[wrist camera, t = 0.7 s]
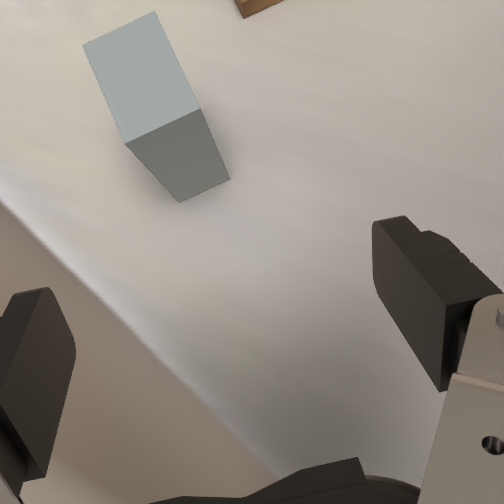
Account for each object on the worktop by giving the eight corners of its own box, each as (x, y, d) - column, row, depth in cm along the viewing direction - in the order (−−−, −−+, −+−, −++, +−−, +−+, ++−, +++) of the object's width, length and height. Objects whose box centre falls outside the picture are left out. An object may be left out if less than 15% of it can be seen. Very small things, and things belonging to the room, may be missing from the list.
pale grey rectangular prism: (198, 111, 31) (154, 10, 21) (230, 179, 30) (200, 108, 20) (149, 134, 31) (81, 45, 21) (179, 202, 30) (124, 143, 20)
